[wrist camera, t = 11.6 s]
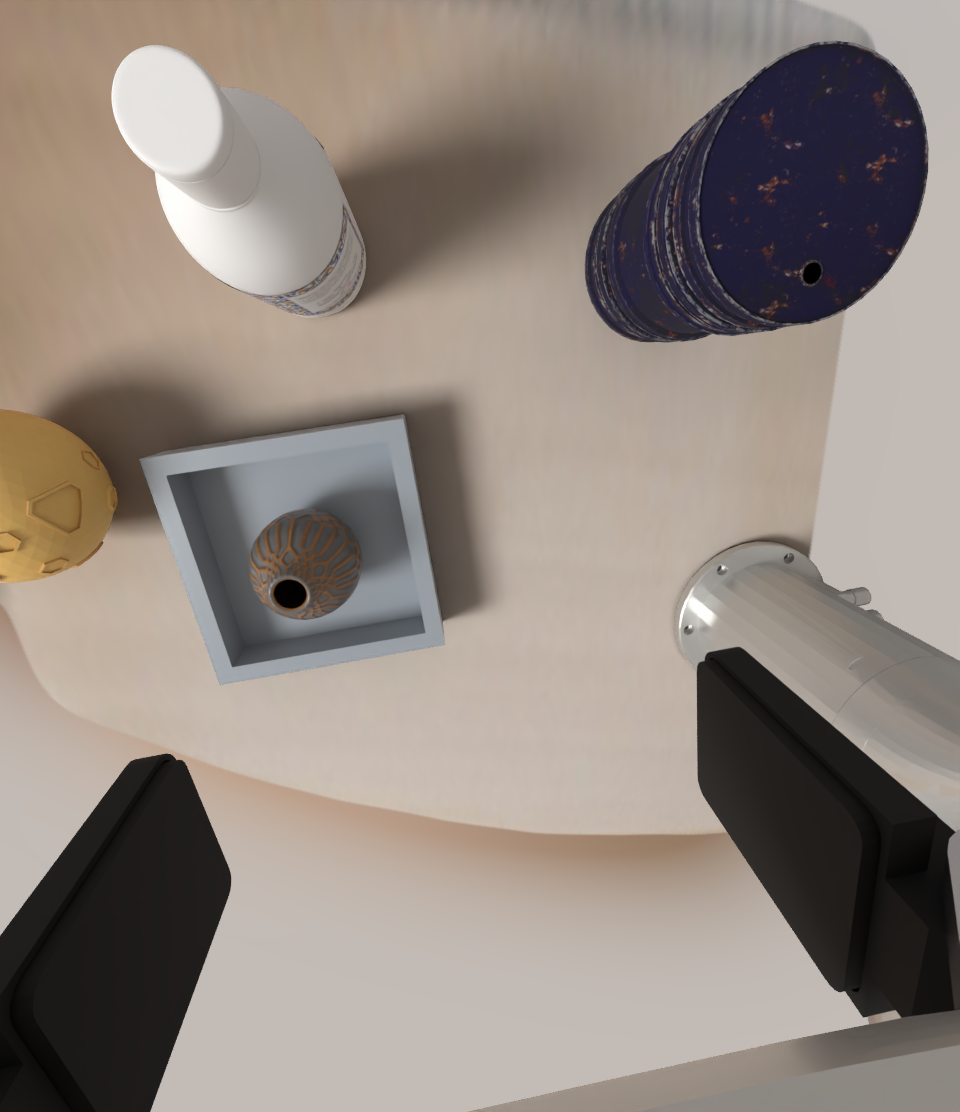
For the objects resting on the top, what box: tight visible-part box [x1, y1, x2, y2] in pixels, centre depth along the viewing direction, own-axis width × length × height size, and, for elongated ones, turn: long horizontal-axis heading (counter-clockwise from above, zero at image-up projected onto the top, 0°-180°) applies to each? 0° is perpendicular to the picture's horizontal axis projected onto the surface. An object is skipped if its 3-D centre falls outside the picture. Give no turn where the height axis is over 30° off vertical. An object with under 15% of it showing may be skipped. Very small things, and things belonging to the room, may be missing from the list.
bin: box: [139, 414, 445, 685], centre depth 37 cm, size 16×16×4 cm
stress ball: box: [0, 409, 118, 583], centre depth 31 cm, size 10×10×10 cm
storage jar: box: [585, 41, 928, 342], centre depth 28 cm, size 10×10×15 cm
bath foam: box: [112, 45, 366, 318], centre depth 24 cm, size 7×7×20 cm
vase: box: [249, 509, 362, 620], centre depth 34 cm, size 7×7×9 cm
